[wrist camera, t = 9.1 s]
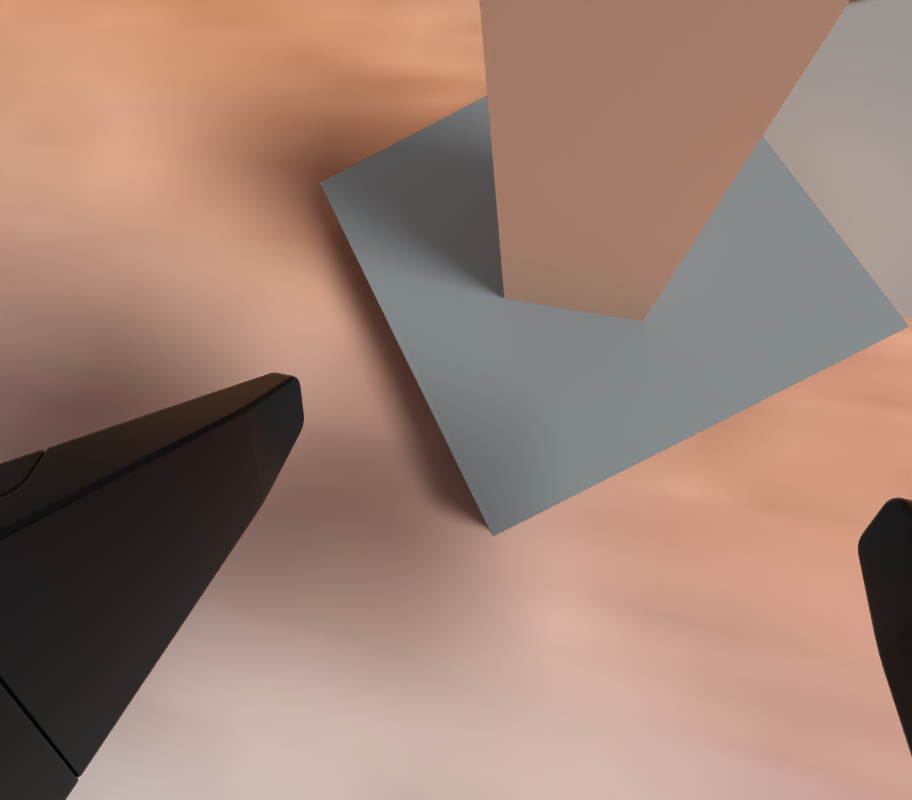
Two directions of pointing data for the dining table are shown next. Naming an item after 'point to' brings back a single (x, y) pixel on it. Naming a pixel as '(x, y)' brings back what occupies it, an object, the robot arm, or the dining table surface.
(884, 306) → the plate
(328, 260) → the dining table surface
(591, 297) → the block
